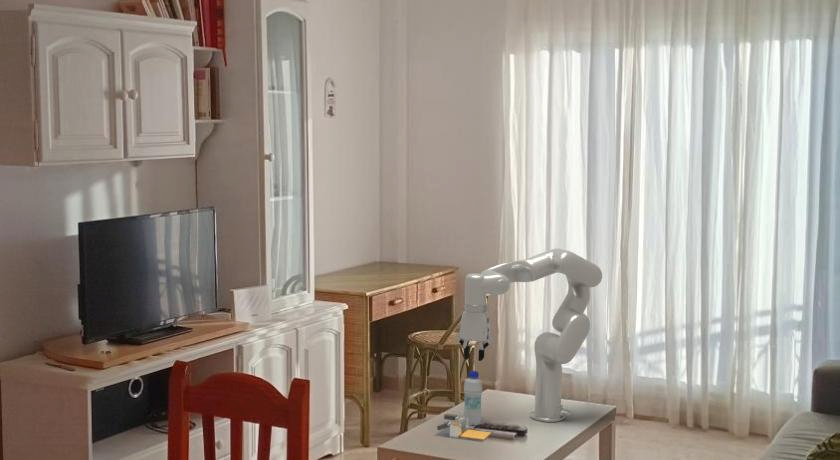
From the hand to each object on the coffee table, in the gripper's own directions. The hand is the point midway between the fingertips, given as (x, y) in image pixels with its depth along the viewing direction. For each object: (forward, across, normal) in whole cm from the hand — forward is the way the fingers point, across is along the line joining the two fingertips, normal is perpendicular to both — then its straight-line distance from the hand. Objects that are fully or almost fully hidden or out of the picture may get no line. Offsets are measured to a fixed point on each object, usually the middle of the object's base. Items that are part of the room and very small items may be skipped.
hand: (473, 359), depth 364 cm
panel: (+24, -2, +13) cm, 28 cm away
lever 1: (+21, +4, +17) cm, 27 cm away
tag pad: (+23, -6, +13) cm, 27 cm away
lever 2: (+20, +5, +9) cm, 22 cm away
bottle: (+25, 0, 0) cm, 25 cm away
